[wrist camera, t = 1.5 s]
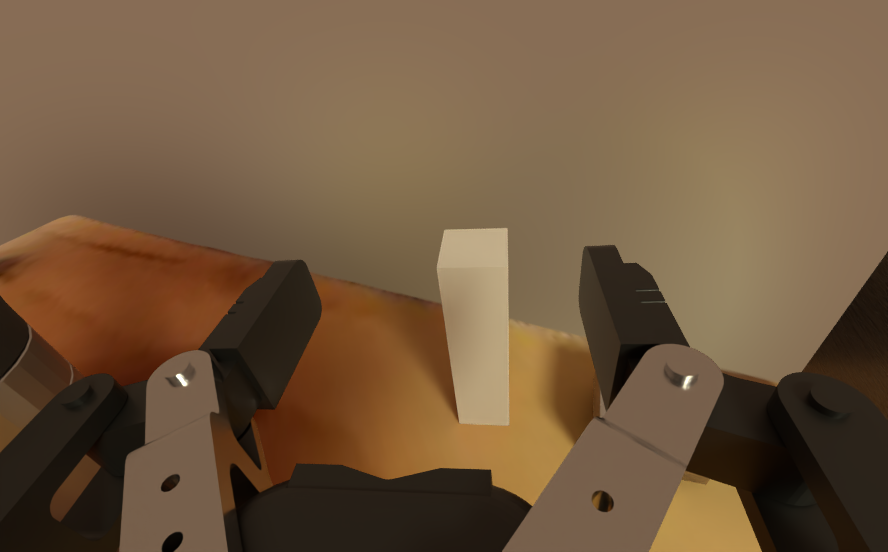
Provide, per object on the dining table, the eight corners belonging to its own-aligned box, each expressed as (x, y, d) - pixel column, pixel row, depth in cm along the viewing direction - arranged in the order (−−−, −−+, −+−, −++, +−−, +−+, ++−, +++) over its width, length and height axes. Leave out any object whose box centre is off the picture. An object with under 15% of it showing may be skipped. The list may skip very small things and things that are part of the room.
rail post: (459, 423, 32) (436, 267, 23) (463, 382, 36) (444, 229, 26) (509, 425, 32) (508, 266, 22) (508, 384, 35) (507, 228, 25)
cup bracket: (590, 487, 28) (667, 205, 14) (592, 372, 35) (644, 113, 21) (867, 553, 23) (1370, 237, 10) (803, 406, 31) (1037, 107, 17)
